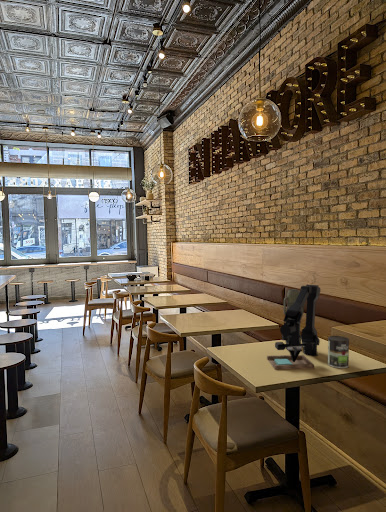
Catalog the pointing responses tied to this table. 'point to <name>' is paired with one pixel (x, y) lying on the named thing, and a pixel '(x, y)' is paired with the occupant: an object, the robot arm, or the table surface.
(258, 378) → the table surface
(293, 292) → the thermos
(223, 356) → the table surface
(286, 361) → the cover plate
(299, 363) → the brown flat tray
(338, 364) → the coffee can
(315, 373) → the table surface
